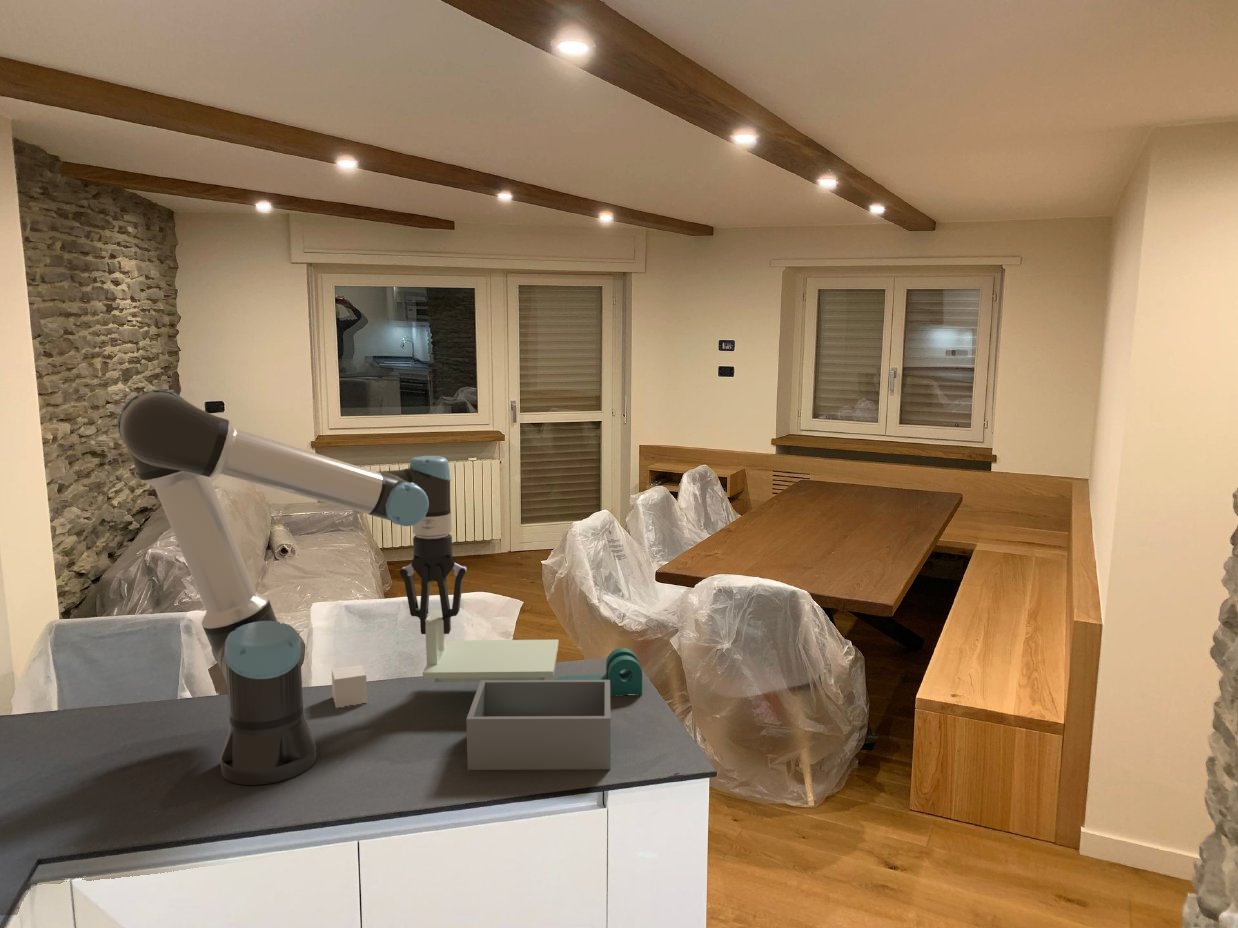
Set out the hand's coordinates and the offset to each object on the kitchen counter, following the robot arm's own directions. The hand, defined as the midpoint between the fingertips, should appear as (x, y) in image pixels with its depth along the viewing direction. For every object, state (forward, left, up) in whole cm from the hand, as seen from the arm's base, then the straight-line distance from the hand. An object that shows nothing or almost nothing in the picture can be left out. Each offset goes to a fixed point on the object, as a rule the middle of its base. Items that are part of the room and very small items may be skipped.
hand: (436, 648), depth 180 cm
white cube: (-17, -2, -10) cm, 20 cm away
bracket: (+32, +2, -10) cm, 34 cm away
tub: (+23, -23, -10) cm, 34 cm away
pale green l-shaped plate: (+12, 0, -4) cm, 12 cm away
